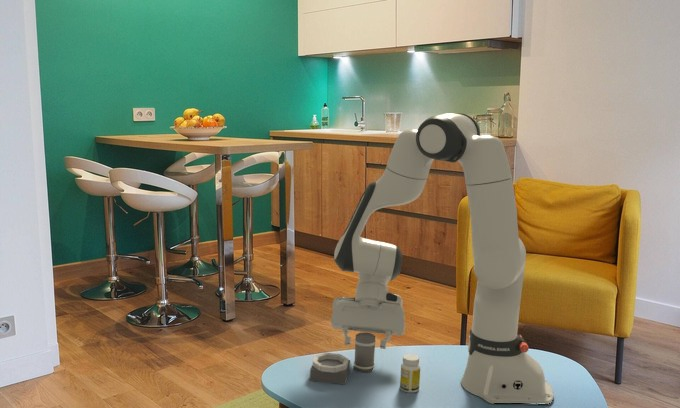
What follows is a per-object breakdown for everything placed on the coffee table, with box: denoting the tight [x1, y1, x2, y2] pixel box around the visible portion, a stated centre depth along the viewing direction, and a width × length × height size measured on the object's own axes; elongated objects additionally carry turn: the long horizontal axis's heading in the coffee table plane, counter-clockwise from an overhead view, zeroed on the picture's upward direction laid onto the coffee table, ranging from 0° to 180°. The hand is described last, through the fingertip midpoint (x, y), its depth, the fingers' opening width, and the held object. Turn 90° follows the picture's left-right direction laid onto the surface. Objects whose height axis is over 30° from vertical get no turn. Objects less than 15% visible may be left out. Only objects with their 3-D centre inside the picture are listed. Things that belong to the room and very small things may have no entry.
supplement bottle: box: [399, 353, 421, 394], centre depth 156 cm, size 5×5×8 cm
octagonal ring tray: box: [309, 352, 351, 385], centre depth 162 cm, size 9×9×4 cm
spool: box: [353, 332, 376, 374], centre depth 167 cm, size 5×5×9 cm
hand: (364, 346), depth 167 cm, fingers open, 8 cm apart
